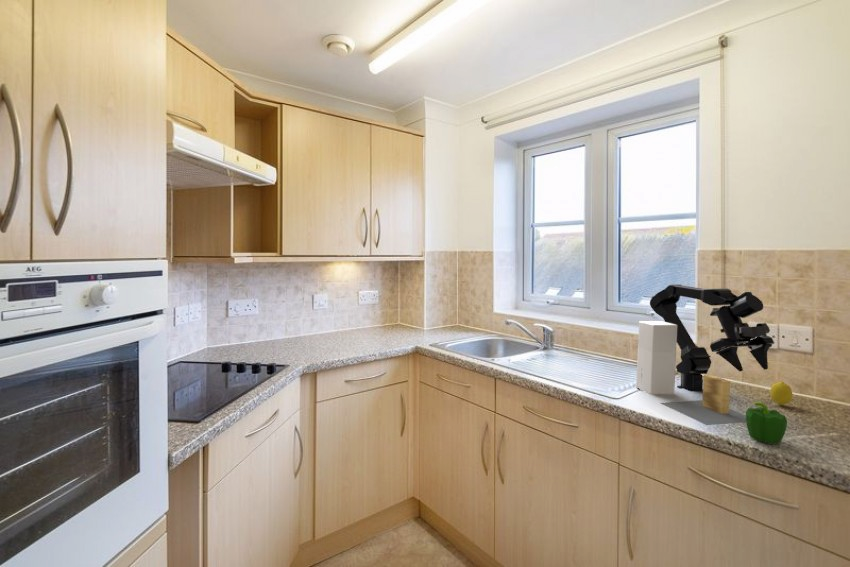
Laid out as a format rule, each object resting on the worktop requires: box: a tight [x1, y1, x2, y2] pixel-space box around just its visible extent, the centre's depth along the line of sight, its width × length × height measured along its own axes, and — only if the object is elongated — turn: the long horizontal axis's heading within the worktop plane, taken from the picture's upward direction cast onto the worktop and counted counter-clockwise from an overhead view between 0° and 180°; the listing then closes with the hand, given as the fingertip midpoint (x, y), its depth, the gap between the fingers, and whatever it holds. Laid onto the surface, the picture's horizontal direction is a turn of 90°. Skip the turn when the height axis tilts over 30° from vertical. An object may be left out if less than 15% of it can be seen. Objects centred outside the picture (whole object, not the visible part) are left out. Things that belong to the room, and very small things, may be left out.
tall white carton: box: [635, 320, 678, 395], centre depth 147 cm, size 9×9×25 cm
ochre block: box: [702, 374, 731, 414], centre depth 129 cm, size 7×2×10 cm, turn 10°
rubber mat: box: [660, 399, 746, 426], centre depth 127 cm, size 18×18×1 cm
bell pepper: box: [745, 401, 788, 445], centre depth 108 cm, size 8×8×10 cm
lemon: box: [769, 381, 793, 406], centre depth 135 cm, size 6×6×8 cm
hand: (753, 370), depth 128 cm, fingers open, 9 cm apart
